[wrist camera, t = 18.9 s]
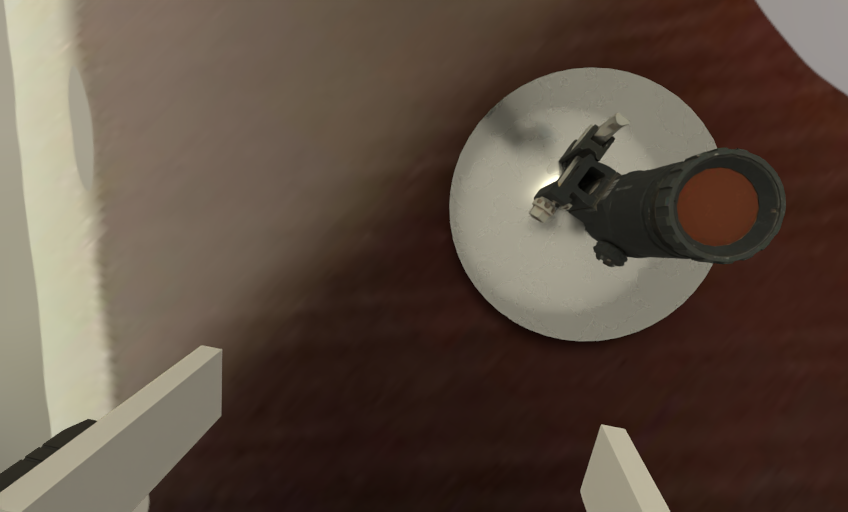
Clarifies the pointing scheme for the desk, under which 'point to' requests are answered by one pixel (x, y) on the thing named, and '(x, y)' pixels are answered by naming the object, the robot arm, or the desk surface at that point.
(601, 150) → the scope
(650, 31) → the desk surface
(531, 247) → the base
